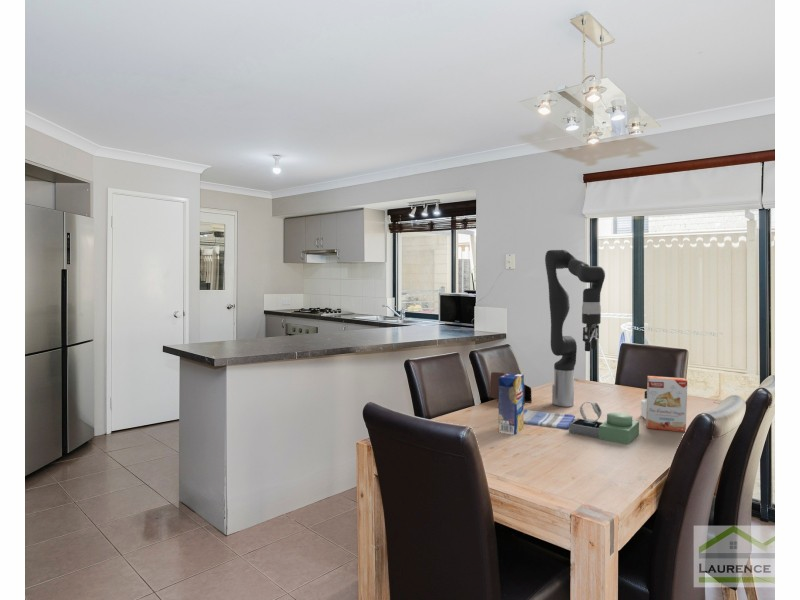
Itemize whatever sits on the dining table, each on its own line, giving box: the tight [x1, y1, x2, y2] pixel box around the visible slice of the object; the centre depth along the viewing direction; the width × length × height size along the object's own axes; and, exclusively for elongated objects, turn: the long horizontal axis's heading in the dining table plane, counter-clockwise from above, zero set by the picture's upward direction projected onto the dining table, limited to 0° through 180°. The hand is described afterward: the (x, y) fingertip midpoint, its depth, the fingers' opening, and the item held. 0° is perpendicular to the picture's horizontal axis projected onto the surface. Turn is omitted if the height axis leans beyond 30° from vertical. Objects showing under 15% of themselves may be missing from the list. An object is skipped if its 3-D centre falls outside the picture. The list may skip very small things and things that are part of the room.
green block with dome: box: [598, 412, 640, 445], centre depth 196 cm, size 11×16×8 cm
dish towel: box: [523, 408, 577, 430], centre depth 218 cm, size 17×24×3 cm
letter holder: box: [489, 371, 533, 405], centre depth 255 cm, size 10×20×14 cm, turn 31°
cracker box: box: [645, 375, 688, 433], centre depth 206 cm, size 14×6×21 cm, turn 69°
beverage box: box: [497, 372, 525, 436], centre depth 204 cm, size 7×11×22 cm, turn 150°
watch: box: [579, 400, 603, 428], centre depth 202 cm, size 6×8×11 cm
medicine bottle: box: [640, 390, 647, 421], centre depth 222 cm, size 7×7×12 cm
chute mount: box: [568, 417, 605, 439], centre depth 201 cm, size 12×10×4 cm
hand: (590, 350), depth 220 cm, fingers open, 8 cm apart
